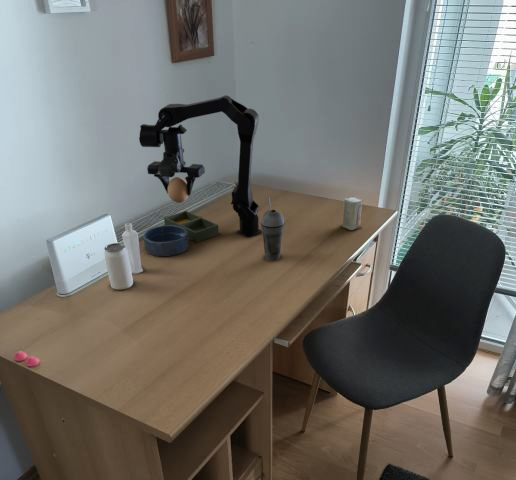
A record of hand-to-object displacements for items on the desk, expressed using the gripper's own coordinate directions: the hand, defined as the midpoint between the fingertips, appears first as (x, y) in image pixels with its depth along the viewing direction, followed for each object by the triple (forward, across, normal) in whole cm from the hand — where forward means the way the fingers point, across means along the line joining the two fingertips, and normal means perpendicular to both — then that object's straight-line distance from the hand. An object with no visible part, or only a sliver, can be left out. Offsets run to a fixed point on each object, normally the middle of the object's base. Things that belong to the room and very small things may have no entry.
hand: (178, 194), depth 172 cm
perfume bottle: (+13, -1, -34) cm, 36 cm away
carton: (+12, +4, -1) cm, 13 cm away
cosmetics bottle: (+13, +58, +17) cm, 62 cm away
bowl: (+12, +2, -16) cm, 20 cm away
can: (+13, 0, -43) cm, 45 cm away
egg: (+3, 0, 0) cm, 3 cm away
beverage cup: (+13, +38, -14) cm, 42 cm away
